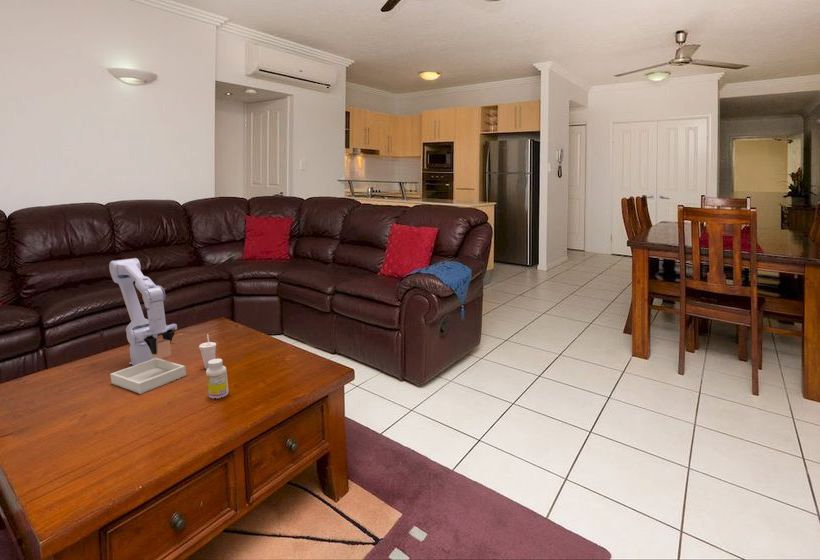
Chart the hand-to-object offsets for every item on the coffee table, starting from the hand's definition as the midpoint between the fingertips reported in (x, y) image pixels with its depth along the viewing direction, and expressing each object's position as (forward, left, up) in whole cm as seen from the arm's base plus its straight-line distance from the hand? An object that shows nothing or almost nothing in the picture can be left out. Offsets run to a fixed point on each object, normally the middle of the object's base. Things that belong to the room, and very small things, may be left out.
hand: (161, 351), depth 178 cm
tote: (+1, -6, -9) cm, 11 cm away
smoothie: (+11, +13, -9) cm, 19 cm away
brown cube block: (0, 0, -2) cm, 2 cm away
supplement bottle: (+35, -2, -9) cm, 36 cm away
